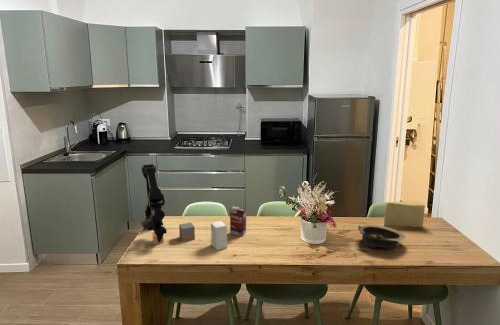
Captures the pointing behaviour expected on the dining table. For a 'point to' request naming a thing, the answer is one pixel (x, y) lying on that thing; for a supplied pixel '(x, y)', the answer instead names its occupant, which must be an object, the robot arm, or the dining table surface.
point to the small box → (219, 235)
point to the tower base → (187, 237)
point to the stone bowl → (380, 236)
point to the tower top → (186, 228)
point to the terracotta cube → (157, 239)
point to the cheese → (404, 213)
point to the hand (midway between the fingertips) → (158, 240)
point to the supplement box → (238, 221)
